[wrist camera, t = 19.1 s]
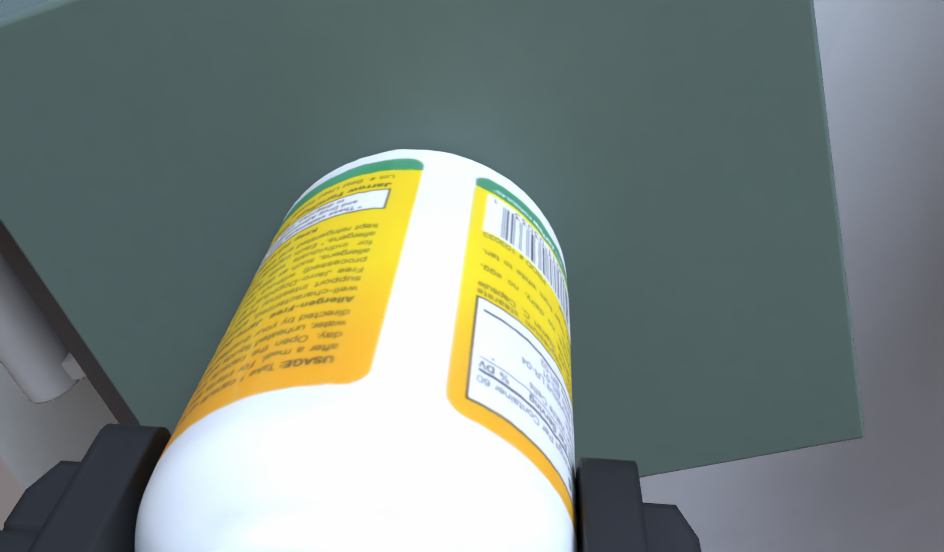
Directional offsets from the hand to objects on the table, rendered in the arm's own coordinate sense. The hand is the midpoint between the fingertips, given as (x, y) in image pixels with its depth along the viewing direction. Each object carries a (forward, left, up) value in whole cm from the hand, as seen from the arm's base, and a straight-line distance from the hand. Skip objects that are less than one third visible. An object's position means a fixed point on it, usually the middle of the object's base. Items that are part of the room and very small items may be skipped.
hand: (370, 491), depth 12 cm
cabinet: (0, 0, -15) cm, 15 cm away
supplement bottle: (0, 0, -6) cm, 6 cm away
